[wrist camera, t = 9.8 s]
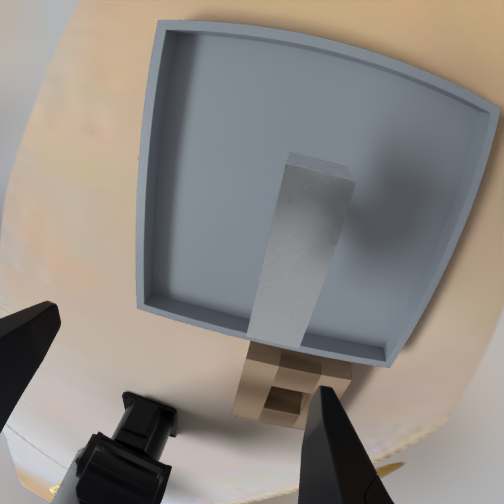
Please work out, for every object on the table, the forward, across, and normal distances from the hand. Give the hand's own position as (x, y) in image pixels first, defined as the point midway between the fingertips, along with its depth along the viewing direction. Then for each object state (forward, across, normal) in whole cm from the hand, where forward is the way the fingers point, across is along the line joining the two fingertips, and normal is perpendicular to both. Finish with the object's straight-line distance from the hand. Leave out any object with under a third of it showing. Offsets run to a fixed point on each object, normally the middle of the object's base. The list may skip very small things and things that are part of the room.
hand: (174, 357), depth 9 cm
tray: (+12, -3, -2) cm, 13 cm away
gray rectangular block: (+12, -3, -2) cm, 12 cm away
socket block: (+12, -6, +13) cm, 19 cm away
